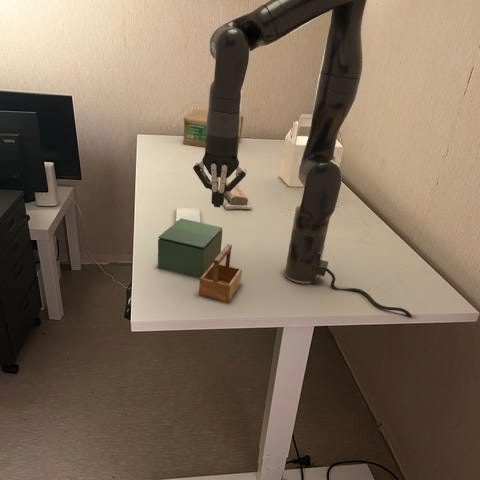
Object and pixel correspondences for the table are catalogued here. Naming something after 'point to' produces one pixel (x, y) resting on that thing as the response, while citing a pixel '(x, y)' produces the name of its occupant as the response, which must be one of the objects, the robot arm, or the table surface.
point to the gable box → (300, 152)
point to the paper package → (198, 128)
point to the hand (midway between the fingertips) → (217, 206)
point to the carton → (187, 251)
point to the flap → (197, 227)
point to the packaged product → (236, 199)
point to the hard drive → (188, 214)
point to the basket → (220, 278)
